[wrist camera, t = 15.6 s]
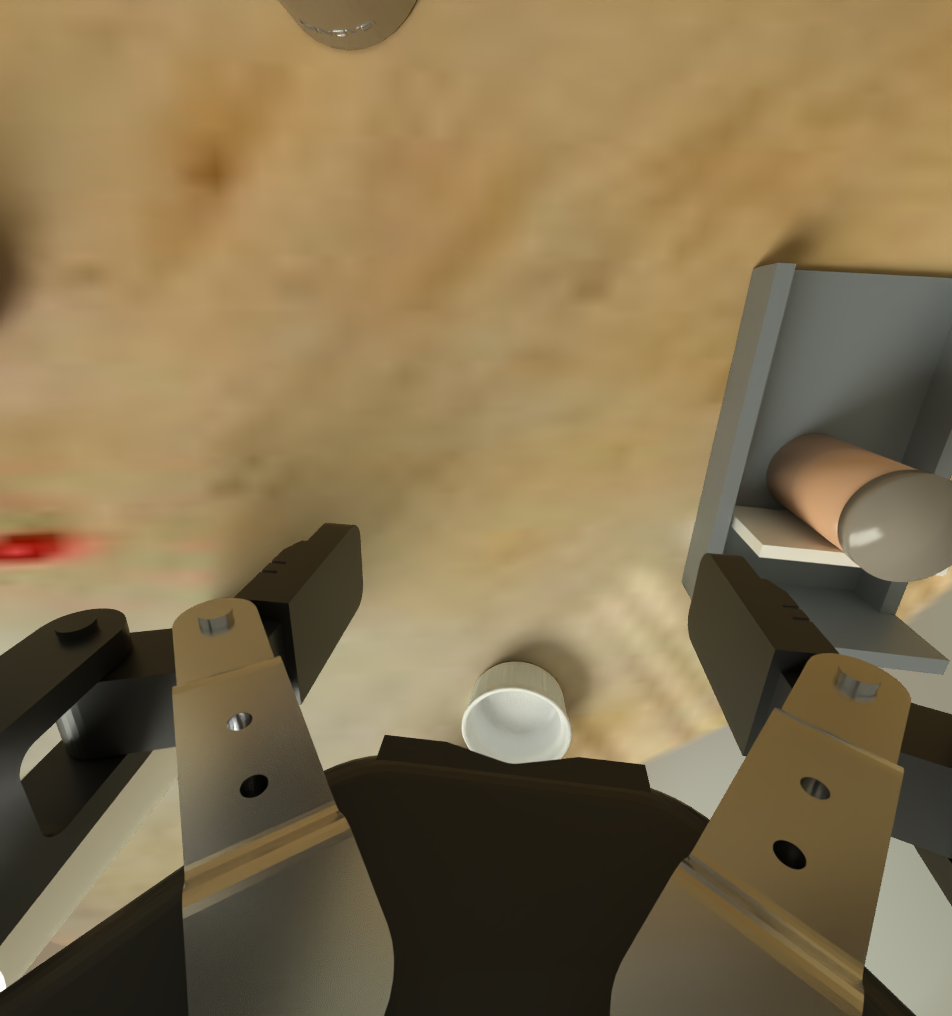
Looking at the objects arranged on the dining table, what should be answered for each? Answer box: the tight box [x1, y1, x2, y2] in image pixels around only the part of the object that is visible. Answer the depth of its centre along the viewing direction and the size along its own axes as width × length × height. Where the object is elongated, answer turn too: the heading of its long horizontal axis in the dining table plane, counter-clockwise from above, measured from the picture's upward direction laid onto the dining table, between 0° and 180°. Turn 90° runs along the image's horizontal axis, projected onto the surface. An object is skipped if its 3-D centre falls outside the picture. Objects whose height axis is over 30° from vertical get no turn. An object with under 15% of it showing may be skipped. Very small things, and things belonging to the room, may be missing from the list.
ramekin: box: [462, 662, 572, 764], centre depth 43 cm, size 9×9×4 cm
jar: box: [766, 434, 952, 582], centre depth 30 cm, size 6×6×11 cm
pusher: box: [730, 505, 949, 576], centre depth 33 cm, size 1×10×7 cm, turn 86°
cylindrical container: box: [0, 747, 178, 992], centre depth 35 cm, size 7×7×25 cm
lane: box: [682, 263, 952, 675], centre depth 31 cm, size 22×13×8 cm, turn 177°
